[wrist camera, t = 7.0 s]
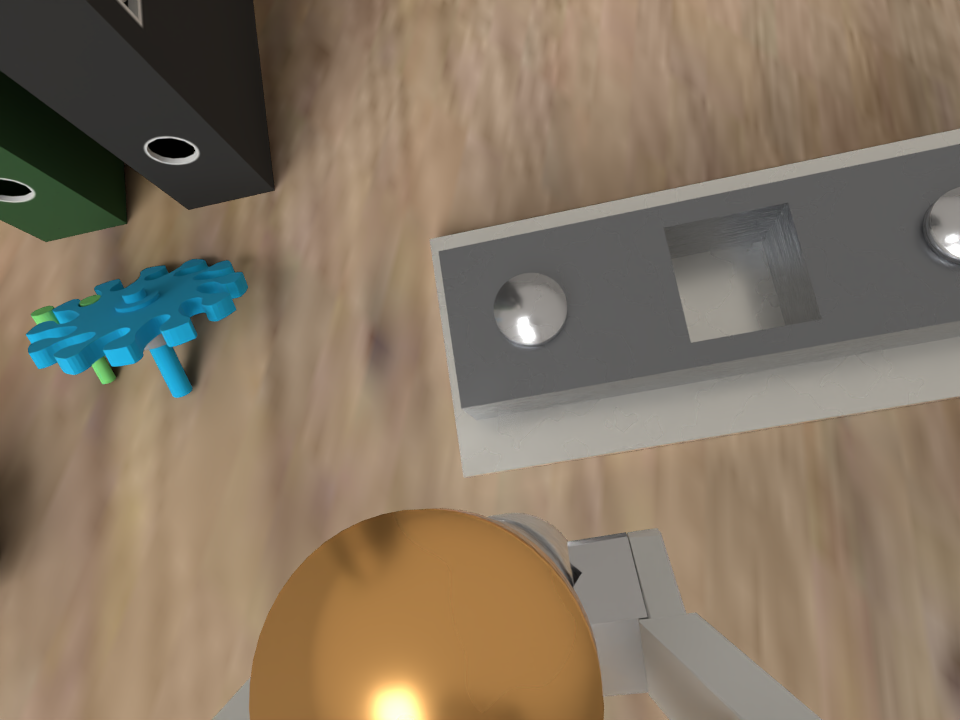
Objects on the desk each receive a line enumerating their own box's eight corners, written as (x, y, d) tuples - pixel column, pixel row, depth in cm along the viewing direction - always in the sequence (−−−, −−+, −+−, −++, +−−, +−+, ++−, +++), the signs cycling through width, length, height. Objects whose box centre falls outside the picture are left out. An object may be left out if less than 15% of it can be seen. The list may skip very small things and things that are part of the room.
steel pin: (617, 611, 16) (678, 791, 6) (488, 684, 16) (339, 979, 6) (542, 479, 16) (489, 446, 7) (421, 548, 17) (197, 613, 7)
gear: (275, 242, 33) (147, 343, 25) (309, 341, 36) (205, 459, 28) (107, 254, 37) (-54, 347, 28) (151, 344, 40) (17, 450, 32)
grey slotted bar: (965, 136, 31) (1047, 58, 25) (1055, 382, 28) (1169, 353, 22) (434, 246, 34) (405, 197, 28) (467, 477, 31) (442, 472, 25)
